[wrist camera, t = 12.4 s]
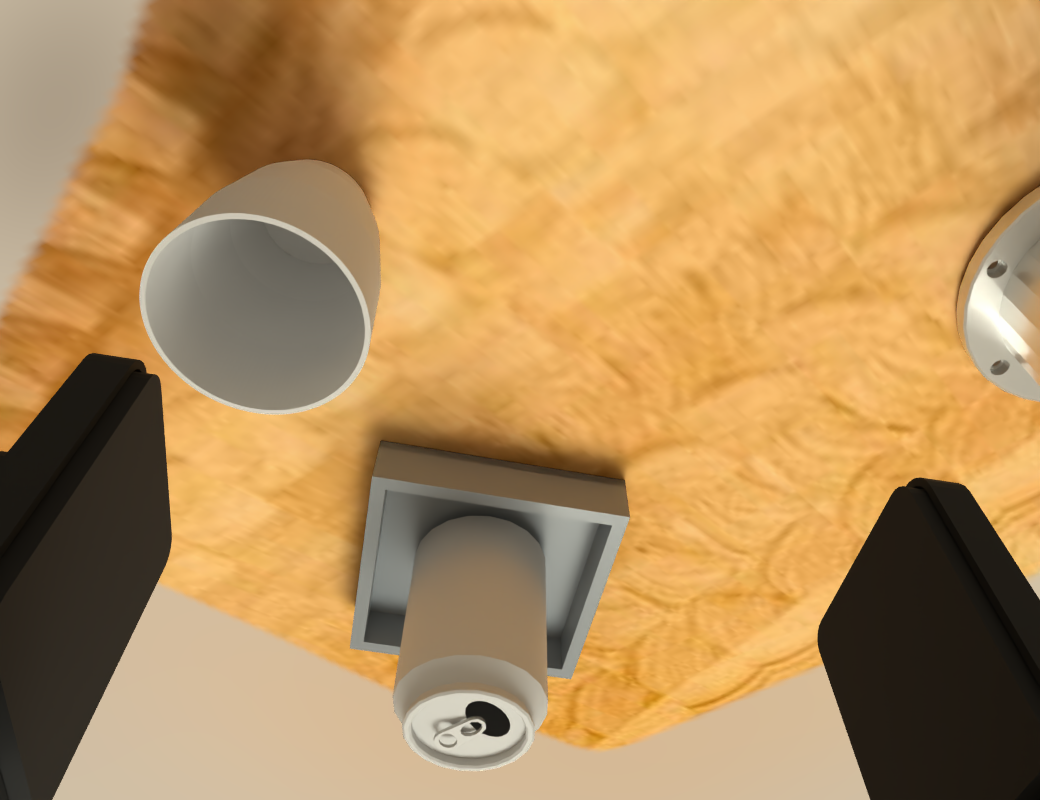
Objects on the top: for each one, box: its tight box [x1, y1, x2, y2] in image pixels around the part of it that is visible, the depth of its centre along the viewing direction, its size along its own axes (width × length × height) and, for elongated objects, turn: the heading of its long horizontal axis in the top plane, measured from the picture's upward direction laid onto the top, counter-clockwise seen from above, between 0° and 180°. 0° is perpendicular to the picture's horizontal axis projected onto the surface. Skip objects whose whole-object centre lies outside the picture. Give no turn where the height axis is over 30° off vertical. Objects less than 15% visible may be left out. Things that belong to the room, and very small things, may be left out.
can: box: [393, 516, 548, 771], centre depth 45 cm, size 8×8×12 cm
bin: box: [350, 441, 630, 679], centre depth 49 cm, size 14×14×3 cm
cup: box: [140, 159, 381, 414], centre depth 35 cm, size 8×8×10 cm
